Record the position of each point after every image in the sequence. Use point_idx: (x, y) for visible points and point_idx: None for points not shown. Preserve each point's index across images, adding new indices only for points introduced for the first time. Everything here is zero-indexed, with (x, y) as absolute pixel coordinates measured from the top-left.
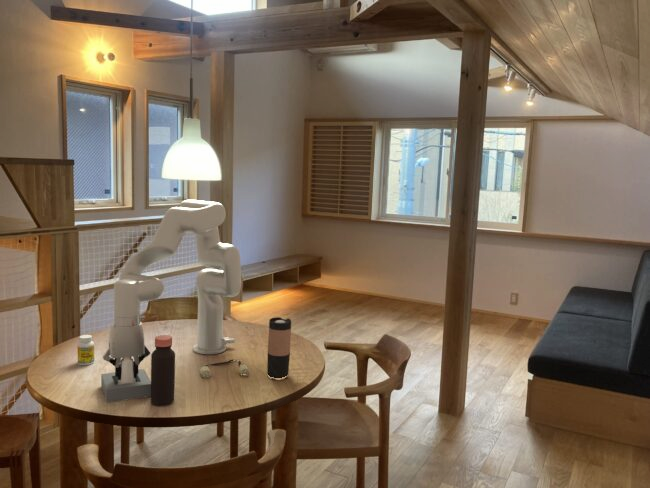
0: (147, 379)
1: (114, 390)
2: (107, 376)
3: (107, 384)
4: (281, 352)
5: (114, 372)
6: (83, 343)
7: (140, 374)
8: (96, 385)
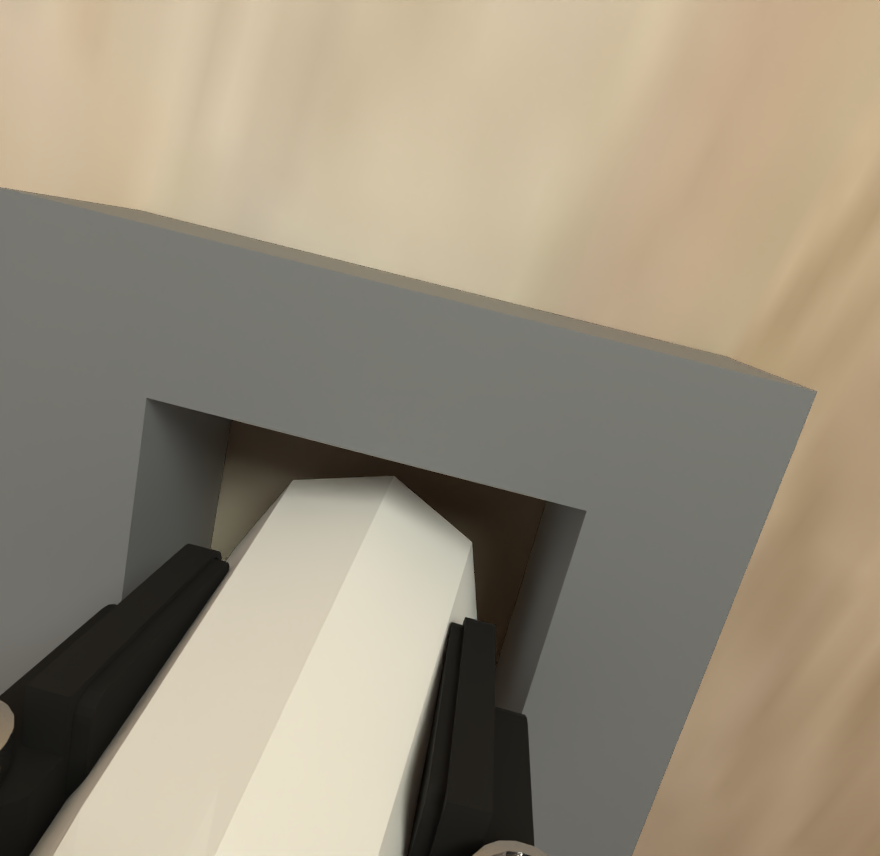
0: (595, 852)
1: None
2: (73, 377)
3: (6, 686)
4: None
5: (238, 247)
6: None
7: (606, 612)
8: (86, 140)
